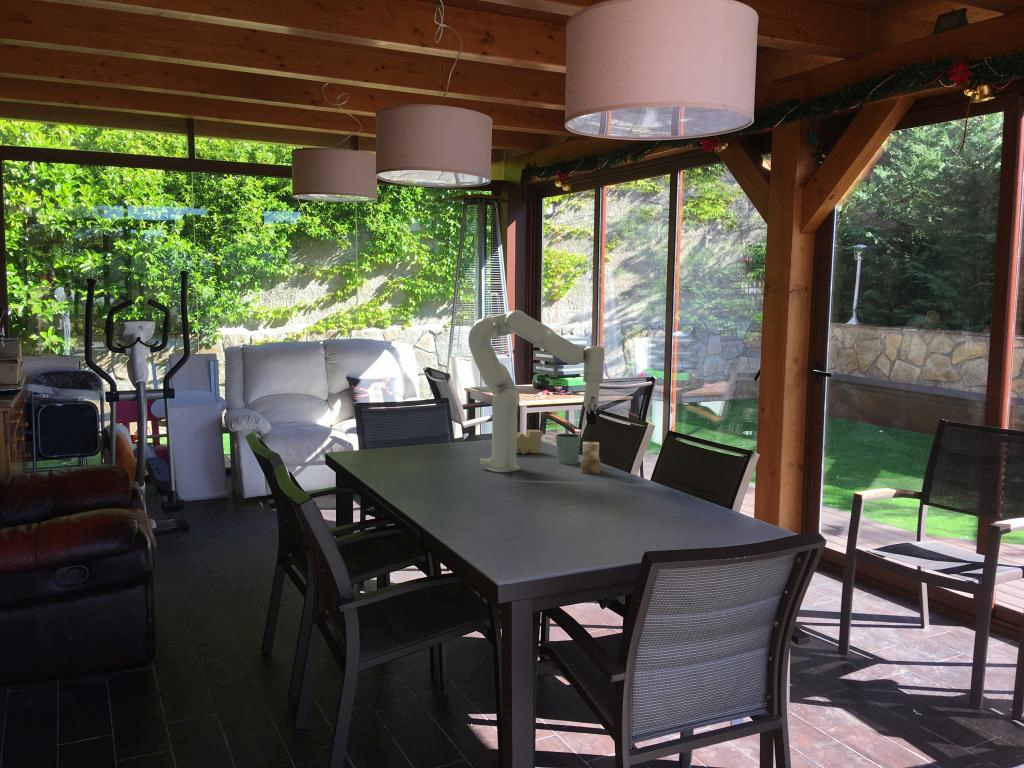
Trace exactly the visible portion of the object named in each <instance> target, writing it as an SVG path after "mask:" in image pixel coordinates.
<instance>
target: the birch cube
mask: <svg viewBox="0 0 1024 768" xmlns="http://www.w3.org/2000/svg"><path fill="white" fill-rule="evenodd" d="M582 457H583V460H599V458H600V442H599V441H582Z"/></svg>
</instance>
